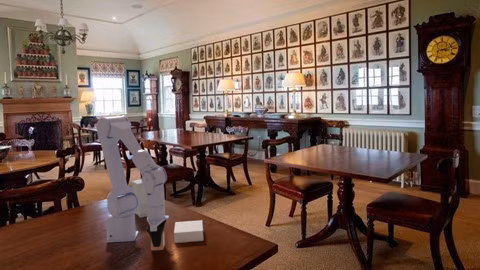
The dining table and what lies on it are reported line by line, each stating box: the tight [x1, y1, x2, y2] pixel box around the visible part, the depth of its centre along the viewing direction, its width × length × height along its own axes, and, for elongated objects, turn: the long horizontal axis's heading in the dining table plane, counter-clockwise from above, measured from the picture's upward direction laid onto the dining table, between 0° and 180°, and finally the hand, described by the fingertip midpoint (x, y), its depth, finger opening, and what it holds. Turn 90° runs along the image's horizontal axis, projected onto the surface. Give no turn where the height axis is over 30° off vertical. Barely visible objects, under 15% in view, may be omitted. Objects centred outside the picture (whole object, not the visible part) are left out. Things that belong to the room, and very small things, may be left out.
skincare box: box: [131, 178, 148, 218], centre depth 146 cm, size 8×6×15 cm
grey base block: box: [173, 219, 204, 244], centre depth 123 cm, size 10×10×4 cm
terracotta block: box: [150, 230, 166, 251], centre depth 114 cm, size 4×4×5 cm
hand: (157, 243), depth 114 cm, fingers closed on terracotta block, 4 cm apart
